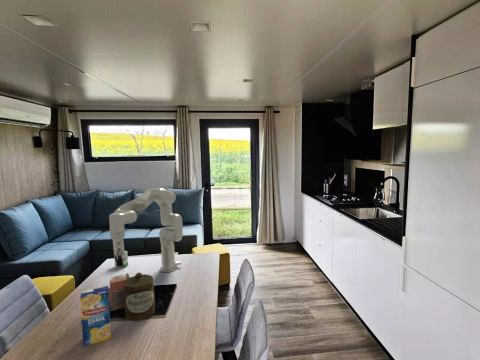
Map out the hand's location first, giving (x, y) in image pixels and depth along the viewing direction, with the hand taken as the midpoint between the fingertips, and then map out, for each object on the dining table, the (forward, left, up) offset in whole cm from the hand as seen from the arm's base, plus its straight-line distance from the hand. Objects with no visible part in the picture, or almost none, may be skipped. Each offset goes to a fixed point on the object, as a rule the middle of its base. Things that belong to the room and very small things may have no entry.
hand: (119, 263), depth 150 cm
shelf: (0, -2, -22) cm, 22 cm away
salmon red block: (+1, +1, -20) cm, 20 cm away
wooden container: (-8, +20, -23) cm, 31 cm away
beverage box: (+13, +30, -23) cm, 40 cm away
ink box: (-6, -56, -23) cm, 60 cm away
